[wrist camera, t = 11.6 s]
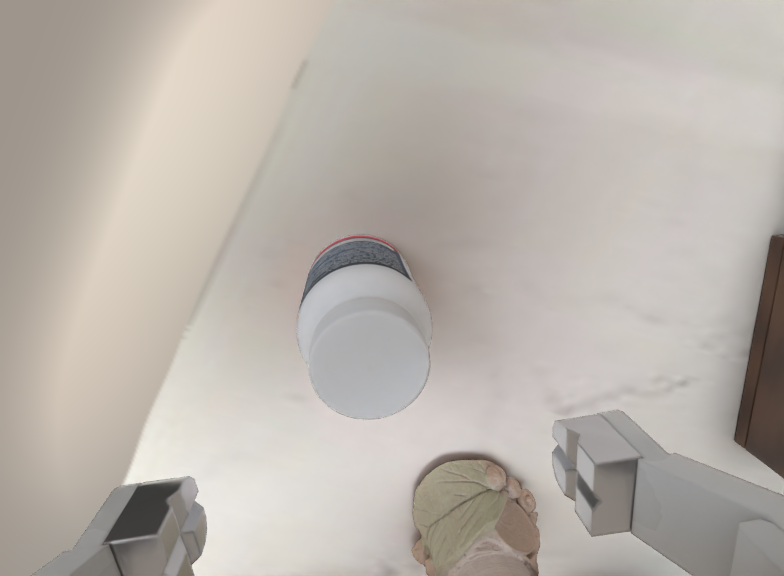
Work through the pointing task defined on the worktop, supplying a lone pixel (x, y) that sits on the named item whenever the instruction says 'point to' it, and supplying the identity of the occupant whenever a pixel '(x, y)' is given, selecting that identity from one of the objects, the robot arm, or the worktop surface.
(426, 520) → the figurine
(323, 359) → the pill bottle
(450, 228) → the worktop surface
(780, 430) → the cabinet
